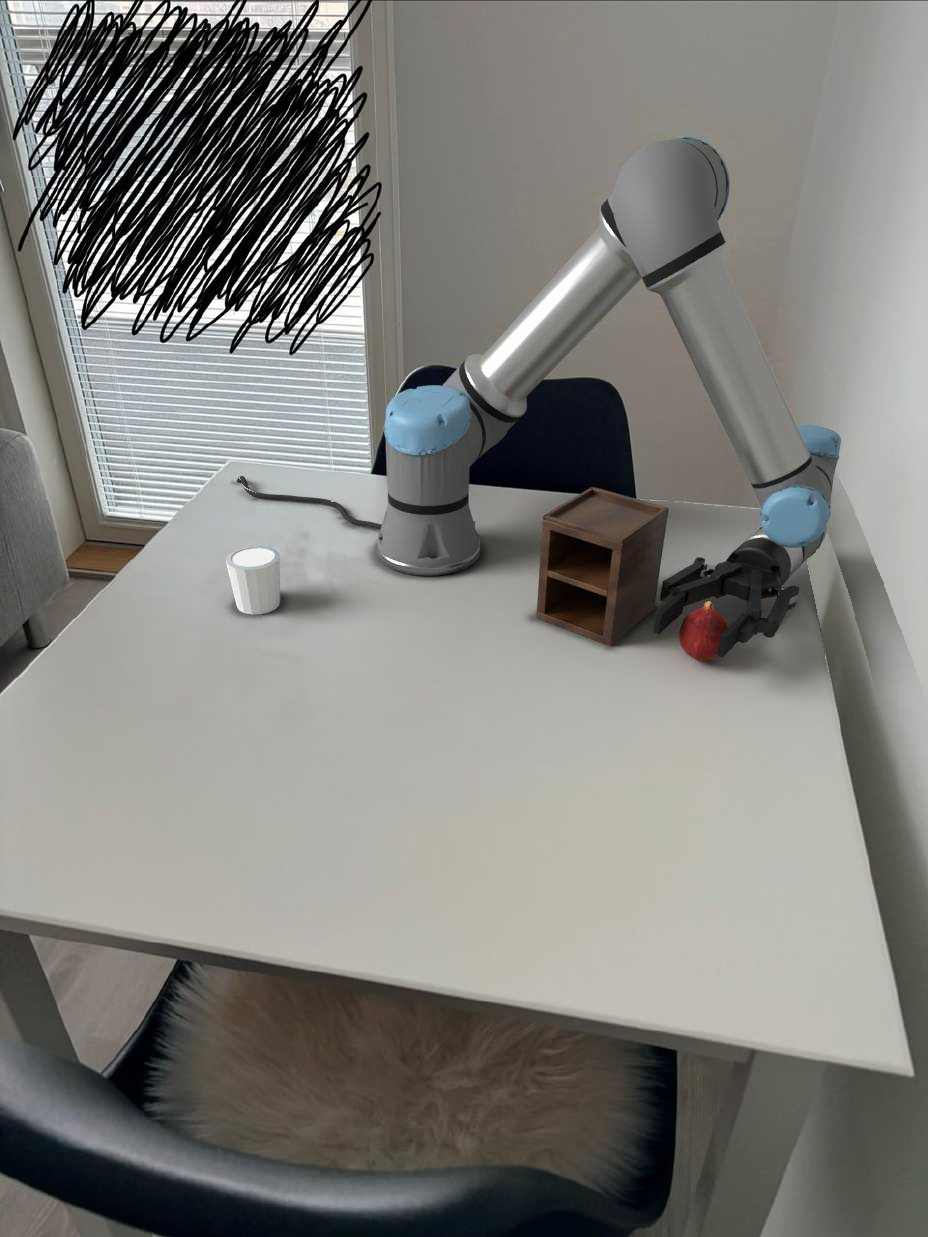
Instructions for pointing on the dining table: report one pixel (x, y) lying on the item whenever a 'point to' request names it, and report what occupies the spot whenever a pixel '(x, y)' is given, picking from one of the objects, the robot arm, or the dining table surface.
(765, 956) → the dining table surface
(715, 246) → the robot arm
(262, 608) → the shot glass
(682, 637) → the onion
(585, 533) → the box
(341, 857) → the dining table surface
